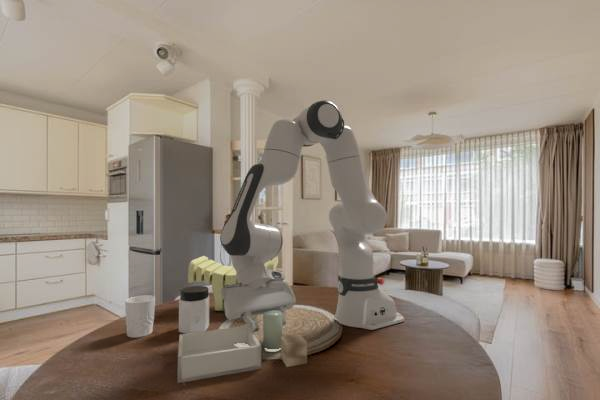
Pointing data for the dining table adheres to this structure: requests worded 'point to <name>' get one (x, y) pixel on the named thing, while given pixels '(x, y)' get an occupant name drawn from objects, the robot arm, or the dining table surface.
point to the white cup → (139, 315)
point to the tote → (217, 353)
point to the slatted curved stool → (217, 276)
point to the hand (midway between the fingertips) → (269, 327)
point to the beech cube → (293, 350)
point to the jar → (193, 309)
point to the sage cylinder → (272, 329)
